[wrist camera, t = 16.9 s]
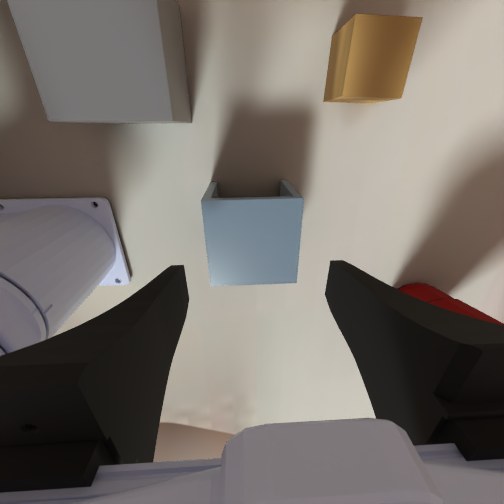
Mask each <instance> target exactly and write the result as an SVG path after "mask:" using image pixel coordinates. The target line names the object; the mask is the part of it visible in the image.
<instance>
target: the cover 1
mask: <svg viewBox="0 0 504 504" xmlns="http://www.w3.org/2000/svg"><path fill="white" fill-rule="evenodd" d="M7 2H8V5H9V8H10V11H11V14H12V17H13V19H14V22H15V25H16V28H17V31H18V34H19V37H20V40H21V43H22V46H23V49H24V51H25V54H26V57H27V60H28V63H29V66H30V69H31V72H32V75H33V78H34V80H35V83H36V86H37V89H38V92H39V95H40V98H41V101H42V104H43V107H44V110H45V112H46V115H47V118H48V121H49V122H77V123H192V120H191V110H190V101H189V91H188V82H187V72H186V63H185V54H184V44H183V35H182V25H181V16H180V7H179V5H178V3H177V1H176V0H7Z"/></svg>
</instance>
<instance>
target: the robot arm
mask: <svg viewBox="0 0 504 504" xmlns="http://www.w3.org/2000/svg"><path fill="white" fill-rule="evenodd" d="M93 202H96V203H97V204H98V207H96V206H95V205H94V203H93ZM0 204H1V205H2V206H3V208H2V207H1V205H0V504H504V325H500V324H496V323H492V322H488V321H484V320H481V319H477V318H473V317H470V316H466V315H463V314H460V313H456V312H453V311H450V310H447V309H444V308H442V307H439V306H436V305H433V304H430V303H428V302H425V301H423V300H420V299H418V298H415V297H413V296H411V295H408V294H406V293H404V292H402V291H399V290H397V289H395V288H393V287H391V286H389V285H387V284H386V283H384V282H382V281H380V280H378V279H376V278H374V277H373V276H371V275H369V274H367V273H366V272H364V271H362V270H360V269H358V268H357V267H355V266H353V265H351V264H349V263H347V262H345V261H343V260H337V261H330V267H329V273H328V279H327V285H326V291H325V296H326V299H327V302H328V305H329V308H330V310H331V313H332V315H333V317H334V319H335V321H336V323H337V325H338V327H339V329H340V330H341V332H342V334H343V336H344V338H345V340H346V342H347V344H348V346H349V348H350V350H351V352H352V354H353V356H354V358H355V361H356V363H357V366H358V368H359V371H360V374H361V376H362V379H363V381H364V384H365V387H366V390H367V393H368V395H369V398H370V401H371V404H372V407H373V410H374V413H375V416H376V419H374V418H359V419H342V420H325V421H308V422H291V423H274V424H264V425H259V426H254V427H250V428H245V429H244V430H242V431H241V432H239V433H237V434H236V435H234V436H233V437H231V438H230V439H229V440H228V441H227V442H226V445H225V447H224V450H223V452H222V457H221V458H214V459H199V460H183V461H167V462H153V459H154V452H155V445H156V439H157V434H158V427H159V422H160V416H161V411H162V406H163V400H164V395H165V390H166V385H167V380H168V376H169V371H170V367H171V363H172V359H173V356H174V353H175V350H176V347H177V344H178V341H179V338H180V334H181V331H182V328H183V325H184V322H185V319H186V314H187V309H188V303H189V295H188V289H187V282H186V276H185V270H184V265H172V266H170V267H168V268H167V269H166V270H164V271H163V272H162V273H161V274H159V275H158V276H157V277H156V278H154V279H153V280H152V281H151V282H149V283H148V284H147V285H146V286H144V287H143V288H141V289H140V290H139V291H137V292H136V293H134V294H133V295H132V296H130V297H129V298H127V299H126V300H124V301H123V302H121V303H120V304H118V305H117V306H115V307H113V308H111V309H110V310H108V311H106V312H105V313H103V314H101V315H99V316H97V317H95V318H93V319H91V320H89V321H87V322H85V323H83V324H81V325H79V326H77V327H75V328H72V329H70V330H68V331H66V332H63V333H61V334H59V335H56V336H54V337H52V336H53V335H54V334H55V333H56V332H57V331H58V330H59V329H60V327H61V326H62V325H63V324H64V323H65V322H66V321H67V320H68V319H69V317H70V316H71V315H72V314H73V313H74V312H75V311H76V310H77V308H78V307H79V306H80V305H81V304H82V303H83V302H84V301H85V299H86V298H87V297H88V296H89V295H90V294H91V293H92V292H93V290H94V289H95V288H96V287H97V286H108V285H127V284H129V282H130V281H131V277H130V274H129V270H128V267H127V263H126V259H125V256H124V252H123V249H122V245H121V242H120V238H119V235H118V231H117V227H116V224H115V220H114V217H113V213H112V210H111V206H110V203H109V201H108V200H107V199H105V198H103V197H91V198H36V199H0ZM117 278H118V279H120V280H121V281H119V280H118V279H117Z"/></svg>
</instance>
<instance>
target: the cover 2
mask: <svg viewBox="0 0 504 504" xmlns="http://www.w3.org/2000/svg"><path fill="white" fill-rule="evenodd" d="M303 202H304V198H303V197H302V196H301V195H300V193H299V192H298V191H297V190H296V189H295V188H294V187H293V186H292V185H291V184H290V183H289V182H288V181H287V180H281V188H280V197H244V198H218V186H217V182H210V184H209V186H208V188H207V190H206V192H205V194H204V196H203V198H202V200H201V205H202V214H203V223H204V232H205V241H206V250H207V259H208V268H209V277H210V286H232V285H257V284H283V283H297V272H298V261H299V249H300V237H301V226H302V214H303Z"/></svg>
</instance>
